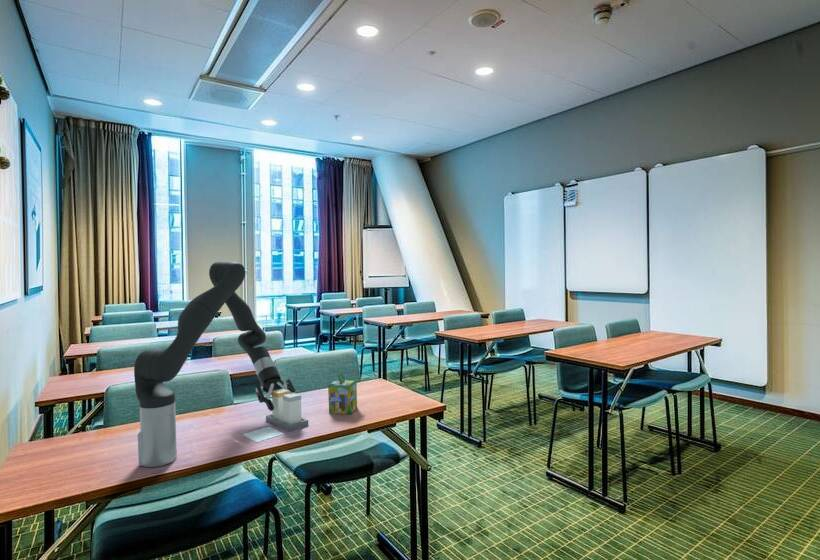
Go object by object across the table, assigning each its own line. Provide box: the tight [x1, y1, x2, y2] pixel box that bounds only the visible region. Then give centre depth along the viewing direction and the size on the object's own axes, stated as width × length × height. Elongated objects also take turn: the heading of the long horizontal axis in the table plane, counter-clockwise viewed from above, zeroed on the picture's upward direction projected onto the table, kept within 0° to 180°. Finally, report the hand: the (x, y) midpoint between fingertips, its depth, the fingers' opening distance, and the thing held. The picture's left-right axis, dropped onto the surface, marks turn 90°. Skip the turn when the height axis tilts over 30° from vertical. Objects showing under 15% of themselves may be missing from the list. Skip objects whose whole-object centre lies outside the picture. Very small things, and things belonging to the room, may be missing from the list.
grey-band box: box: [283, 392, 302, 425], centre depth 159 cm, size 5×5×11 cm
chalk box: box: [327, 372, 358, 415], centre depth 176 cm, size 9×9×15 cm
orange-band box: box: [271, 389, 289, 422], centre depth 165 cm, size 5×5×11 cm
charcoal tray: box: [265, 413, 309, 432], centre depth 162 cm, size 16×8×2 cm, turn 46°
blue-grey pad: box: [242, 426, 285, 444], centre depth 151 cm, size 10×10×1 cm
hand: (282, 407), depth 164 cm, fingers open, 8 cm apart
